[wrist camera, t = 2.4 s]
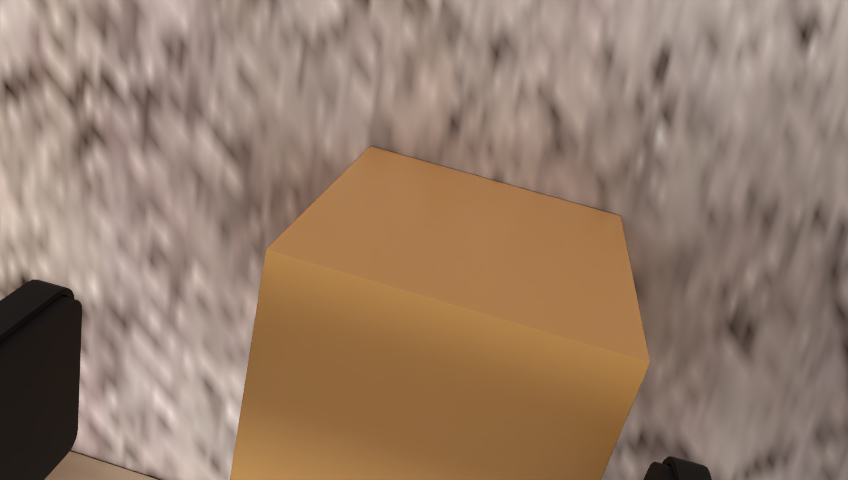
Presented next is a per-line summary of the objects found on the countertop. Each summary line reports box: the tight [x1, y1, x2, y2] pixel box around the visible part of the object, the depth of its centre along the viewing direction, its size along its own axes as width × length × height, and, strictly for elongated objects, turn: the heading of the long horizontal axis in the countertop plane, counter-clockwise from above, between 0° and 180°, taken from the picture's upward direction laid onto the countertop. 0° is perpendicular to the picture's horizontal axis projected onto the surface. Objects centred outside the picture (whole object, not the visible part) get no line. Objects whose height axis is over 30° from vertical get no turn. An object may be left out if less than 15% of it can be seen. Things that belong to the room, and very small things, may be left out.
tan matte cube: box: [230, 146, 650, 480], centre depth 15 cm, size 6×6×6 cm
